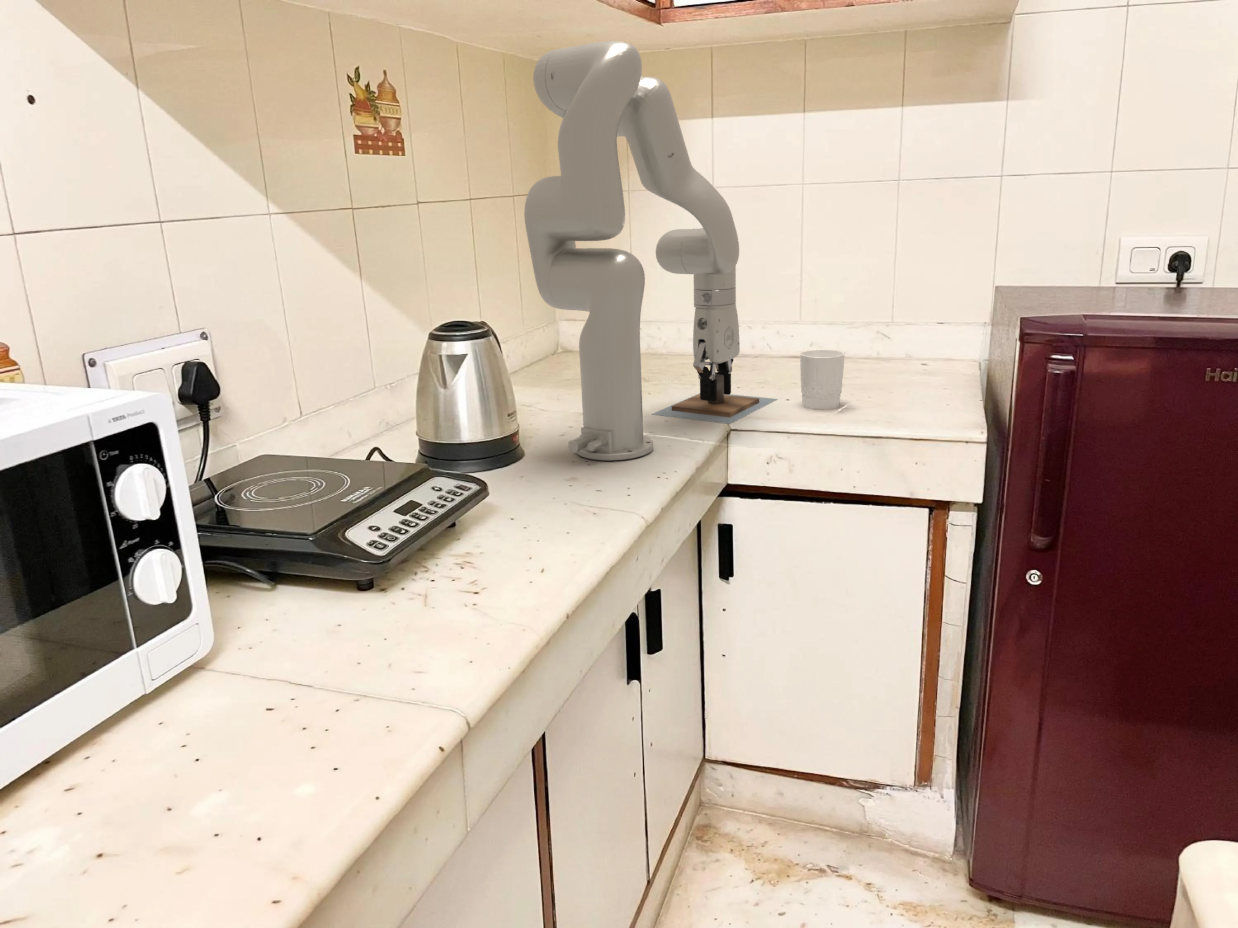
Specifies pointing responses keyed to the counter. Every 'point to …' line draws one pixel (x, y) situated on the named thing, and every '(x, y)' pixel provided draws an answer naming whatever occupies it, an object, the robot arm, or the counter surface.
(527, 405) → the counter surface
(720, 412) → the walnut cover
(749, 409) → the rubber mat
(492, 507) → the counter surface
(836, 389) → the white cup
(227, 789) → the counter surface
